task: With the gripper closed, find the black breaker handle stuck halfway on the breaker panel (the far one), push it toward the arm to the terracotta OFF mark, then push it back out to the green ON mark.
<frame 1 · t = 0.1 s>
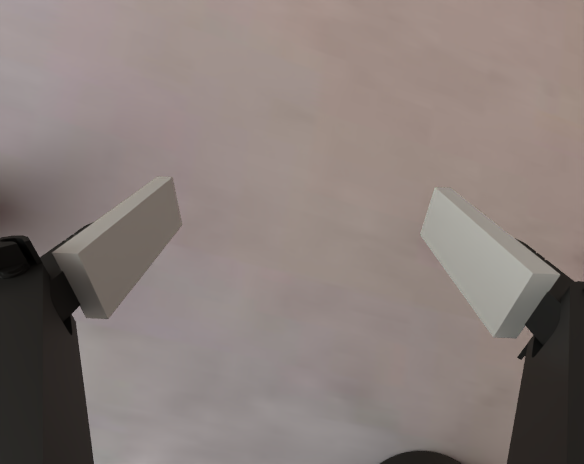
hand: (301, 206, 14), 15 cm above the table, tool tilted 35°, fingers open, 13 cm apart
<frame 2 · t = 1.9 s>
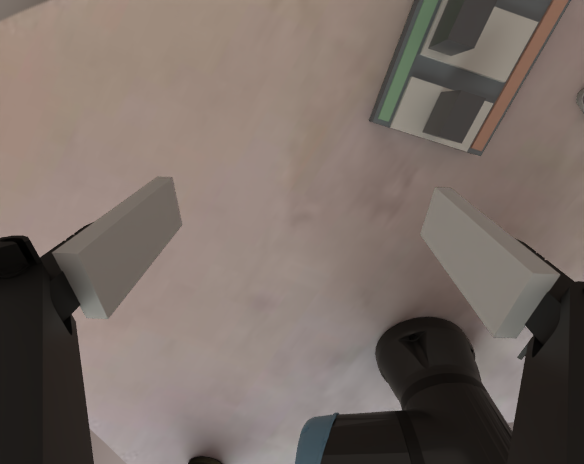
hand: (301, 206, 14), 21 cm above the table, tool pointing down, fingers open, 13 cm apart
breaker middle: (461, 21, 23), point 5 cm above the table, slide at 6.0 cm
breaker panel: (464, 43, 28), on the table
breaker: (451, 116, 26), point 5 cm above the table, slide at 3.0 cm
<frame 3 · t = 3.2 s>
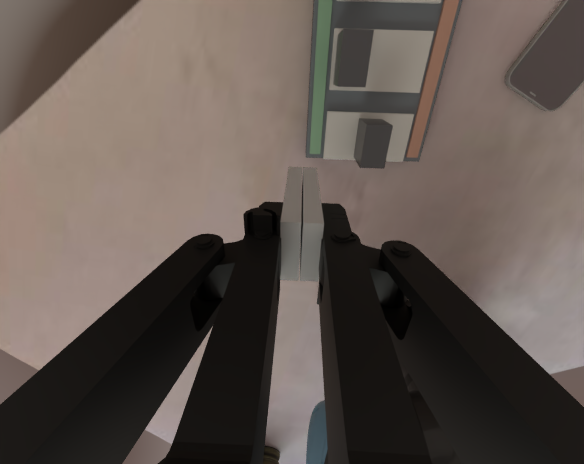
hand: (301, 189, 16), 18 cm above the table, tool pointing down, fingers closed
container: (263, 451, 77), on the table
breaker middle: (351, 60, 24), point 5 cm above the table, slide at 6.0 cm
breaker panel: (373, 62, 28), on the table
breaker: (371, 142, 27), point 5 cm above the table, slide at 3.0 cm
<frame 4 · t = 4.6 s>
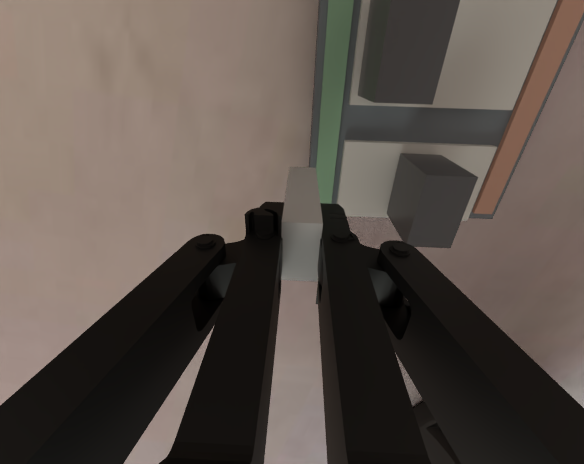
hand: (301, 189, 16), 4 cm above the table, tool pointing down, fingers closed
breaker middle: (399, 48, 12), point 5 cm above the table, slide at 6.0 cm
breaker panel: (425, 56, 16), on the table
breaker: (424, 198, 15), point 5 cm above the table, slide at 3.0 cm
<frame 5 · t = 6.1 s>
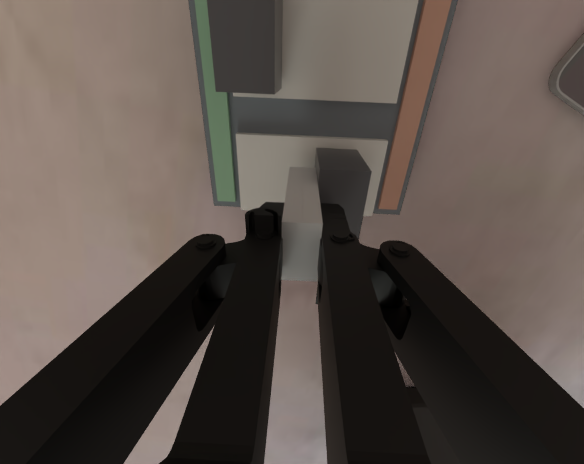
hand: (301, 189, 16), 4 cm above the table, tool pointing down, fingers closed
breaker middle: (251, 37, 12), point 5 cm above the table, slide at 6.0 cm
breaker panel: (316, 48, 16), on the table
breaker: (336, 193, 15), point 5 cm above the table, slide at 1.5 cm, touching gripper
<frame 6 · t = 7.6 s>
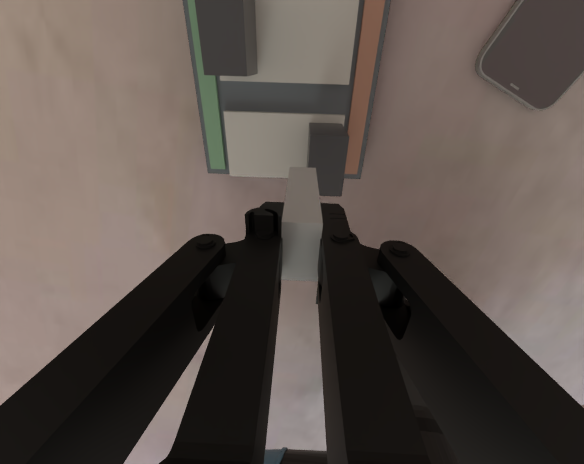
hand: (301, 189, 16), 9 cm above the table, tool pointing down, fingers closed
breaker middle: (230, 34, 16), point 5 cm above the table, slide at 6.0 cm
breaker panel: (286, 41, 20), on the table
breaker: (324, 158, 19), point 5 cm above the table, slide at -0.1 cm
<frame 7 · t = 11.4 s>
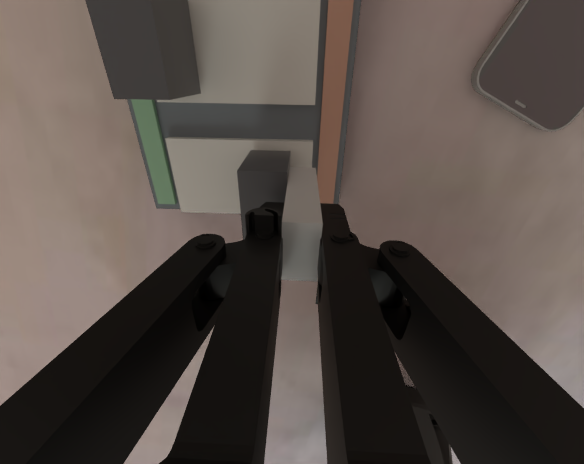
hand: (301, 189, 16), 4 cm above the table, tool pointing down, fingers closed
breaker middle: (152, 46, 12), point 5 cm above the table, slide at 6.0 cm
breaker panel: (240, 53, 16), on the table
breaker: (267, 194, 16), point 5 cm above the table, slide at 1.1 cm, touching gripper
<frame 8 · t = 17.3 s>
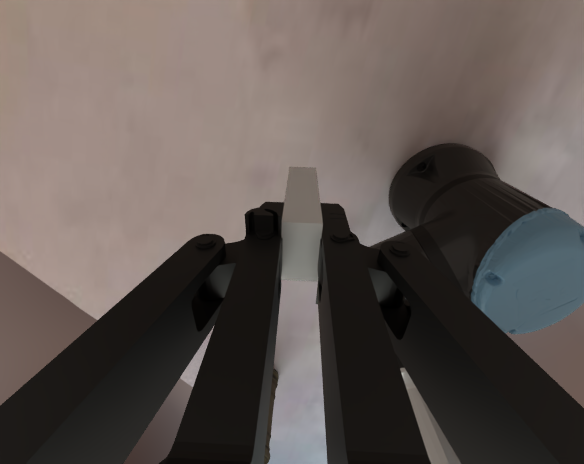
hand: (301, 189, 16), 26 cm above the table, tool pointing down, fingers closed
container: (261, 374, 71), on the table
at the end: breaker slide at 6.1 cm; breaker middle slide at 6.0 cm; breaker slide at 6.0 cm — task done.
